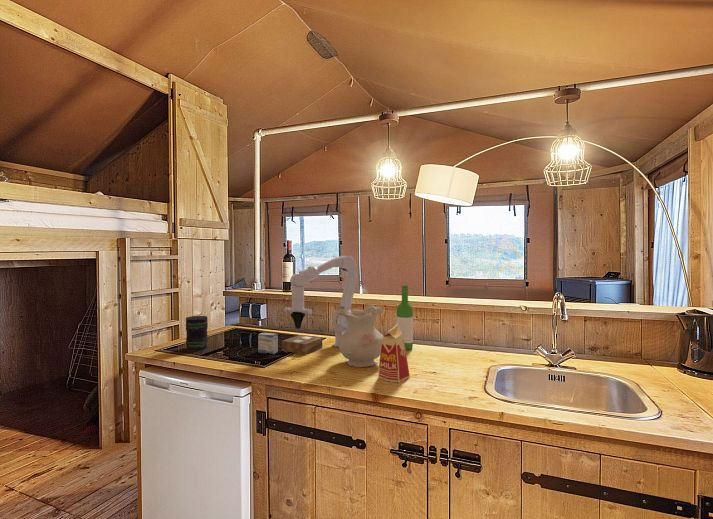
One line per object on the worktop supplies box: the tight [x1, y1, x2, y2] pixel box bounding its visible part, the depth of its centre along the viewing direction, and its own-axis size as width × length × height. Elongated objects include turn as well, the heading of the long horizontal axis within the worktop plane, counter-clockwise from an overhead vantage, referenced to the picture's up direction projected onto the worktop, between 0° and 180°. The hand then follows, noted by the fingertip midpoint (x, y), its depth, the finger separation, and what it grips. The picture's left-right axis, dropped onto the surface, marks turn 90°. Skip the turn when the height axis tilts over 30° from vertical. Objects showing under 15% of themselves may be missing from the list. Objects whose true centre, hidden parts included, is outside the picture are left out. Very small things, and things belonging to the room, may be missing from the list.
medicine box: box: [257, 332, 279, 355], centre depth 186 cm, size 8×4×9 cm, turn 73°
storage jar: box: [185, 315, 209, 352], centre depth 192 cm, size 10×10×15 cm
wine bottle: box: [396, 285, 414, 351], centre depth 192 cm, size 8×8×30 cm
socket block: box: [281, 334, 323, 356], centre depth 190 cm, size 13×14×5 cm
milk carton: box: [377, 323, 411, 384], centre depth 150 cm, size 9×9×20 cm
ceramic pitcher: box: [332, 304, 384, 369], centre depth 168 cm, size 22×20×25 cm
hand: (298, 328), depth 189 cm, fingers closed
